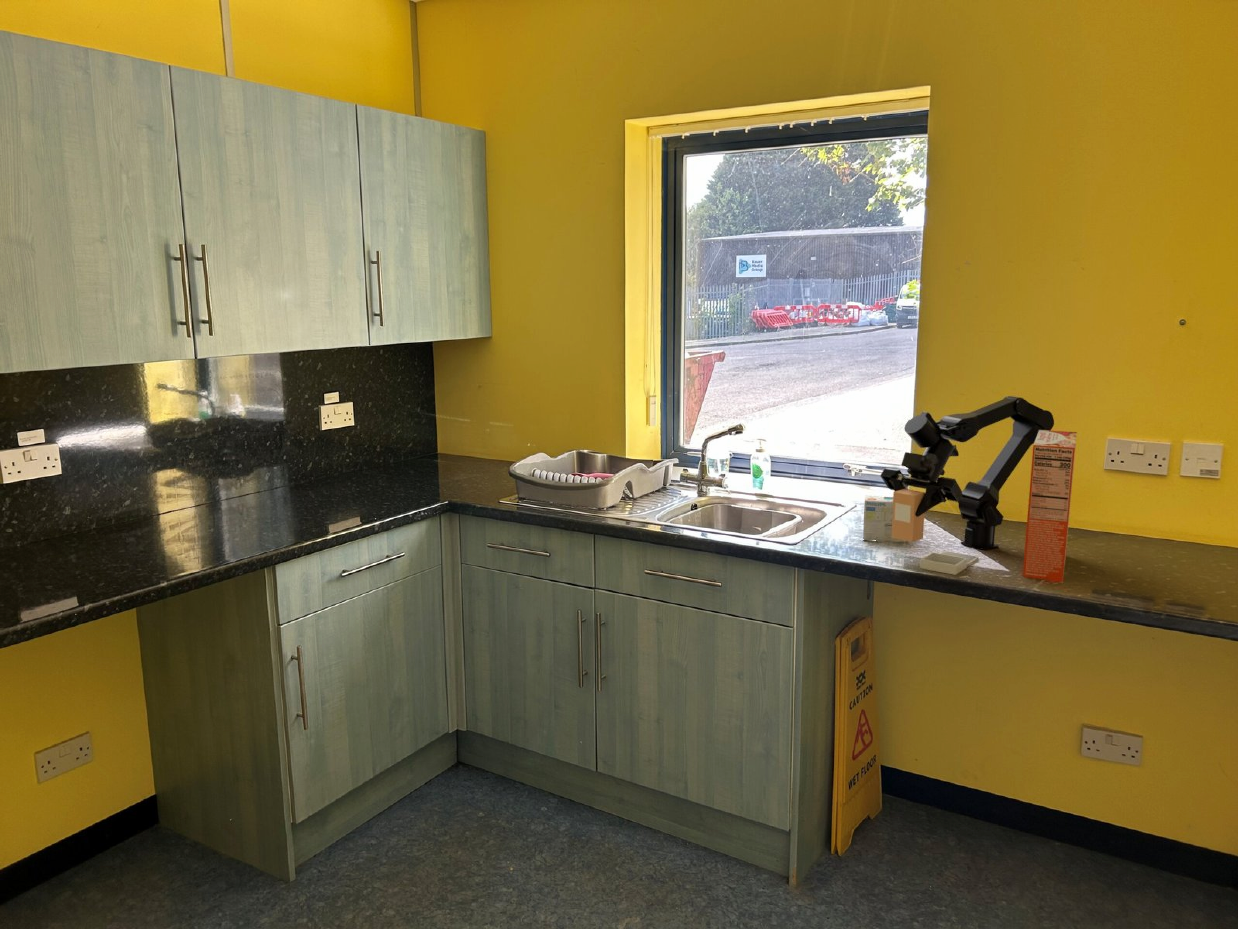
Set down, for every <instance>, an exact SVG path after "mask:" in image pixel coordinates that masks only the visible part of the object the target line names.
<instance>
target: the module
mask: <svg viewBox="0 0 1238 929" xmlns="http://www.w3.org/2000/svg"><path fill="white" fill-rule="evenodd" d="M925 493H926V491H925V492H923V491H918V490H913V489H908V488H907V489H902V490H898V491H895V492H894V491H893V494H892V495H893V496H892V497H893V515H892V536H891V538H896V539H900V540H904V541H906V542H909V543H914V542H917V541H921V540H923V539H924V529H925V526H924V525H925V513H923V514H922V515H920V516H919V517H916V515H915V513H916V510H917V508H918V506H919V504H920V503H921V501H922V499H923V497H924V495H925Z"/></svg>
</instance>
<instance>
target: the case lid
mask: <svg viewBox="0 0 1238 929" xmlns="http://www.w3.org/2000/svg"><path fill="white" fill-rule="evenodd" d="M939 554H945V555H951V556H956V557H962V558H967V567H970V566H971V565H973V564H974V563H975V562H977V561H978V560H979V559H980V558H979V556H976V555H971V554H966V553H965V554H964V553H959V552H954V551H947V550H943V551H942V552H940V553H939Z"/></svg>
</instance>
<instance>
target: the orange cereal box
mask: <svg viewBox="0 0 1238 929" xmlns="http://www.w3.org/2000/svg"><path fill="white" fill-rule="evenodd" d="M1077 435H1078V432H1076V431H1064V430H1063V431H1062V430H1051V431H1048V430H1039V432H1038V434H1037V437H1036V439H1035V442H1034V444H1032V446H1033V447H1032V456H1031V457H1032V459H1031V470H1030V482H1029V483H1030V484H1029V493H1028V507H1027V519H1026V529H1025V530H1026V531H1025V542H1024V543H1025V544H1024V554H1023V555H1024V556H1023V568H1022V577H1024V578H1033V579H1041V580H1046V581H1045V582H1049V581H1050V582H1051V581H1053V582H1052V583H1057V582H1063V583H1064V575H1065V566H1066V556H1067V554H1066V553H1067V544H1068V533H1069V522H1070V514H1071V512H1070V511H1071V502H1072V501H1071V500H1072V491H1073V490H1072V489H1073V480H1074V479H1073V477H1074V470H1075V469H1074V467H1075V456H1076V447H1077V446H1076V445H1077Z"/></svg>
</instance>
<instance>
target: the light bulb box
mask: <svg viewBox="0 0 1238 929" xmlns="http://www.w3.org/2000/svg"><path fill="white" fill-rule="evenodd" d="M863 503H864V506H863V530H862V531H863V532H862V533H863V535H862V540H863V539H864V540H876V541H883V542H892V541H893V542H895V543H906V542H907V541H904V540H900V539H896V538H891V536H892V515H893V496H887V495H886V496H883V495H881V496H880V495H865V496H864V502H863Z"/></svg>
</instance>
